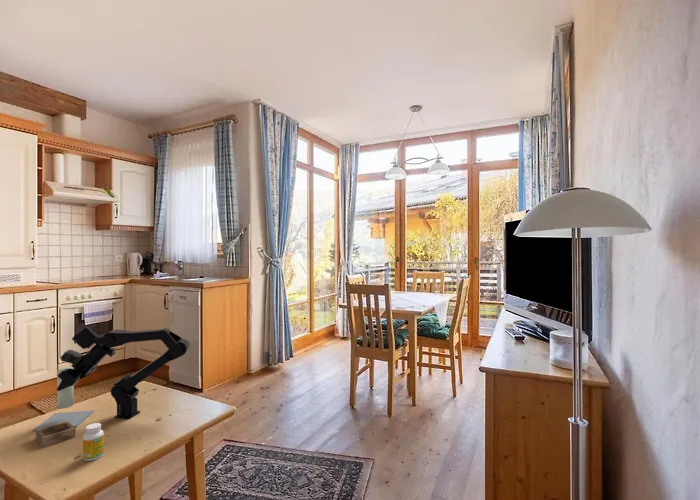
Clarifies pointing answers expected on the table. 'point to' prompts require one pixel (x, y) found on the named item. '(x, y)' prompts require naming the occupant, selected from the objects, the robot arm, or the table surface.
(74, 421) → the mat
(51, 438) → the brown square open box
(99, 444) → the supplement bottle
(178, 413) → the table surface
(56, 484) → the table surface
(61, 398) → the green bottle
